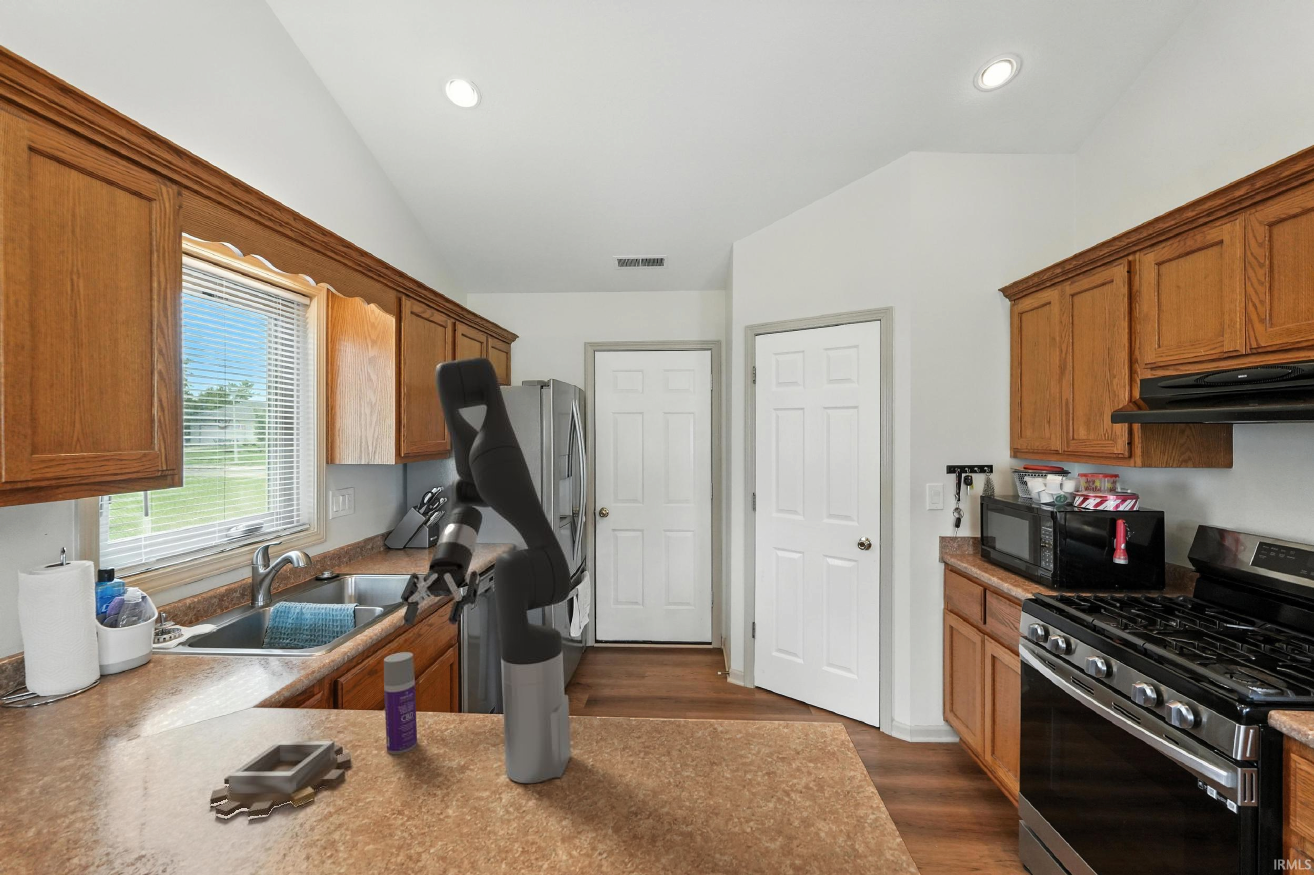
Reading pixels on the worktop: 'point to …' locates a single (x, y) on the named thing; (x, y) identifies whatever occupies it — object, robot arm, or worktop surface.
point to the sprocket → (282, 777)
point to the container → (400, 703)
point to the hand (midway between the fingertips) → (430, 623)
